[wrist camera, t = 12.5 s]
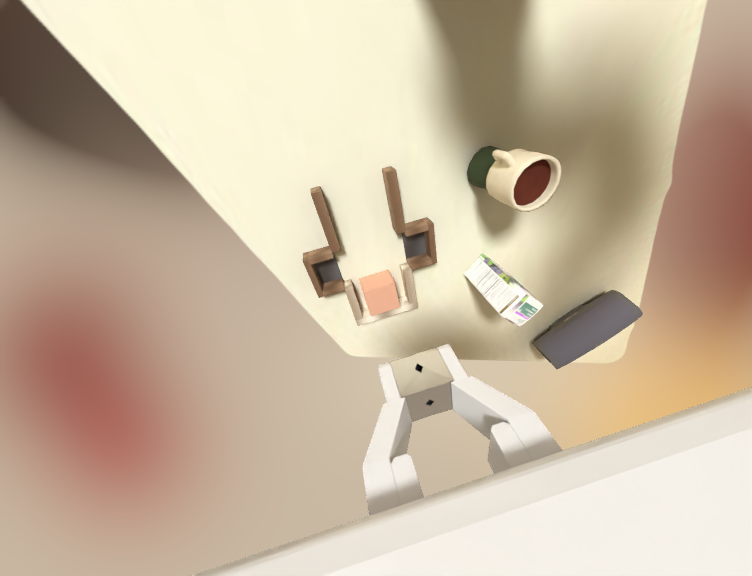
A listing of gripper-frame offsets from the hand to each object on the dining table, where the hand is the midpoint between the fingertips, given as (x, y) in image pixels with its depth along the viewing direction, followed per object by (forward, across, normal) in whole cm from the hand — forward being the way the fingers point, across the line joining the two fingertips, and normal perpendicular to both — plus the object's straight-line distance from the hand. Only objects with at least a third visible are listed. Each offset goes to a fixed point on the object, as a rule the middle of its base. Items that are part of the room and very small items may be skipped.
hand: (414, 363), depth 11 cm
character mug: (+37, -24, +5) cm, 45 cm away
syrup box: (+37, -24, +26) cm, 51 cm away
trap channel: (+37, -2, +15) cm, 40 cm away
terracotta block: (+37, -2, +22) cm, 43 cm away
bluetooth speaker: (+37, -50, +51) cm, 80 cm away
